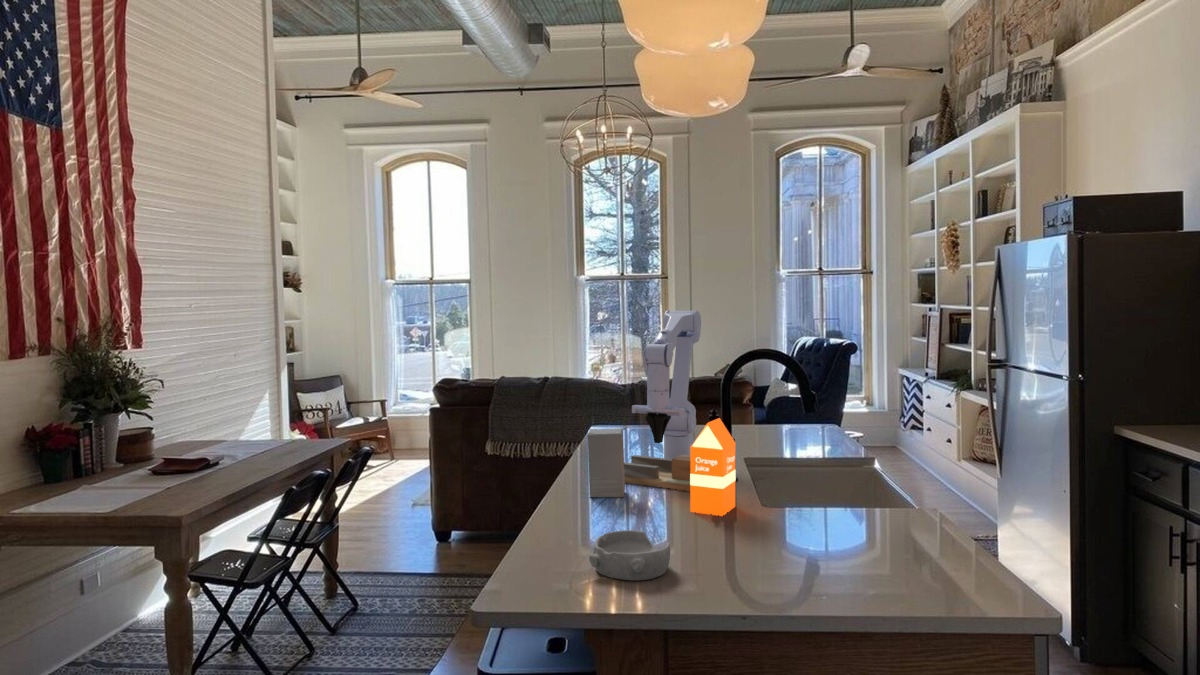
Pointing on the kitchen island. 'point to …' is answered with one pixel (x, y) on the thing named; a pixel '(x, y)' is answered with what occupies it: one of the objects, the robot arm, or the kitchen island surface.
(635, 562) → the dish
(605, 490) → the skincare box
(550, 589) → the kitchen island surface
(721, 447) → the orange juice
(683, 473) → the walnut block
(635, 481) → the chute board
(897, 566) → the kitchen island surface
